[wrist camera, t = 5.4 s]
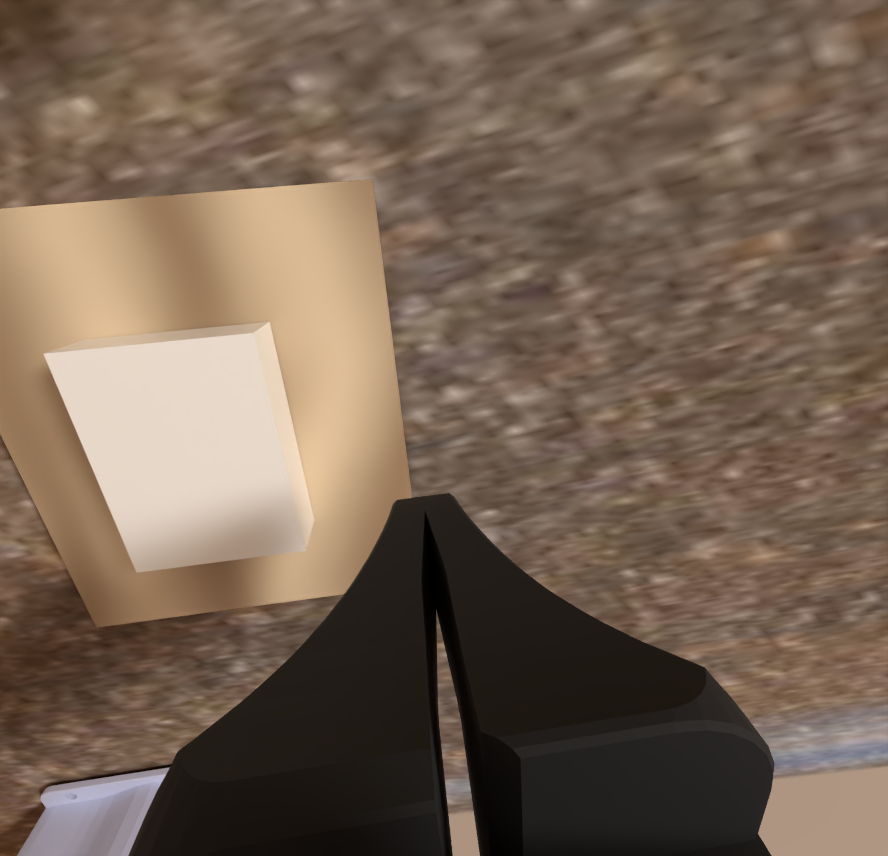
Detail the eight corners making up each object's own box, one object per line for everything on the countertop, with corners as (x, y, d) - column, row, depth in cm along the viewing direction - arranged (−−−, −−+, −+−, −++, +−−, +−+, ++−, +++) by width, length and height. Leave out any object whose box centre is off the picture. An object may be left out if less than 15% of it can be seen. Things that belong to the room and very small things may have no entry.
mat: (104, 617, 20) (96, 627, 20) (-89, 217, 14) (-108, 217, 14) (421, 574, 21) (422, 583, 21) (372, 181, 15) (372, 179, 14)
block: (314, 519, 19) (162, 538, 18) (270, 321, 16) (86, 339, 15) (305, 550, 17) (136, 572, 17) (253, 333, 14) (43, 353, 13)
